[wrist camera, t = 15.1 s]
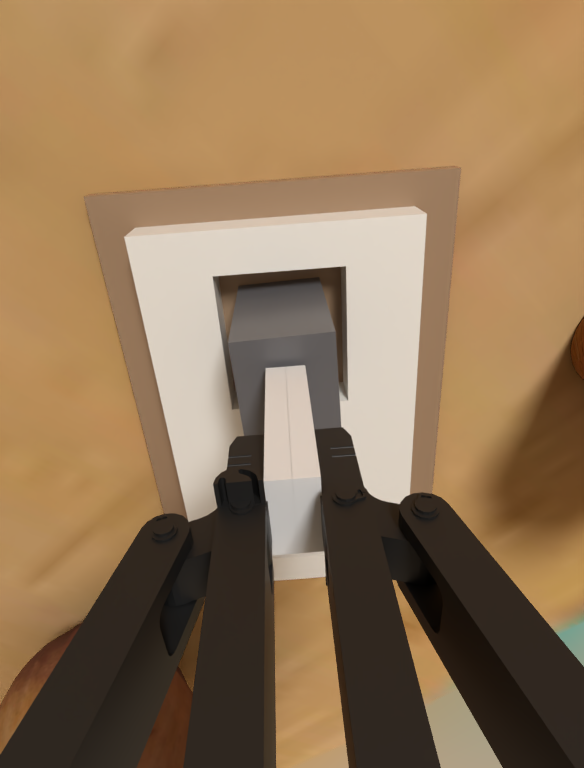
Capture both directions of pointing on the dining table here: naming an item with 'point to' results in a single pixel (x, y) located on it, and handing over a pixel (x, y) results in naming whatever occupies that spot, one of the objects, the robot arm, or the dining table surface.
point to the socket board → (271, 264)
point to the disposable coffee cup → (578, 350)
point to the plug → (284, 347)
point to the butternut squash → (168, 733)
